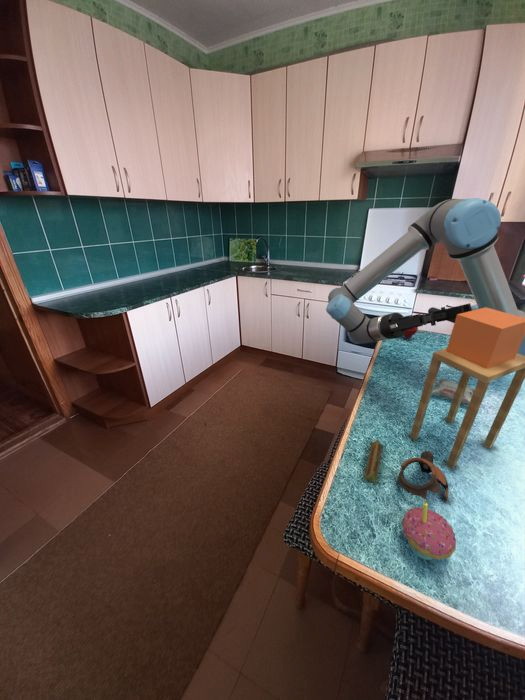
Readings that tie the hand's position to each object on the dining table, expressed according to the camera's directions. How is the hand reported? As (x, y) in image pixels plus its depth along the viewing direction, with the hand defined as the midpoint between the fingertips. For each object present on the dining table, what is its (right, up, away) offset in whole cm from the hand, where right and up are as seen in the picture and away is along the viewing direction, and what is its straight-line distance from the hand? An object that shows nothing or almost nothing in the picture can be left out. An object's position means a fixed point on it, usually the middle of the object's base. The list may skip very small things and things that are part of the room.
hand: (466, 310), depth 66 cm
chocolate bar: (-19, -37, +6) cm, 42 cm away
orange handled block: (0, -8, +3) cm, 9 cm away
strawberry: (+20, -4, +68) cm, 71 cm away
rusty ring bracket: (-10, -40, 0) cm, 41 cm away
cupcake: (-17, -46, -12) cm, 50 cm away
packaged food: (+15, -25, +27) cm, 40 cm away
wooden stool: (+3, -33, +11) cm, 35 cm away
